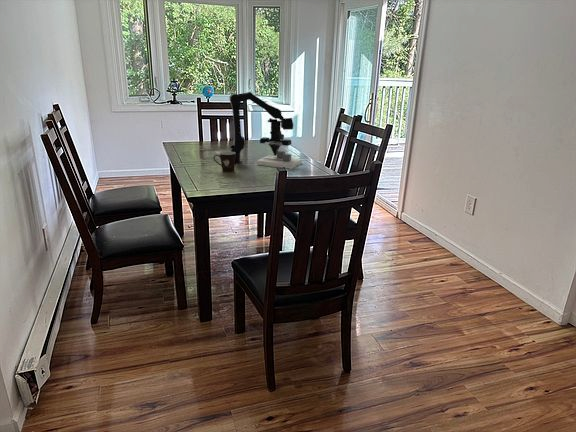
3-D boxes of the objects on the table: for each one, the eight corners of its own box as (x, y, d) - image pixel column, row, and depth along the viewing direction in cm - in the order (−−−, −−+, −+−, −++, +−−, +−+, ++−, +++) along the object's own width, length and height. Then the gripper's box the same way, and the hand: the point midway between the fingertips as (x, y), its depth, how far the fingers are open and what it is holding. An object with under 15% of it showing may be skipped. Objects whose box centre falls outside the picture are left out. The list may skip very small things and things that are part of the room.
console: (291, 168, 246) (292, 164, 245) (257, 164, 254) (257, 160, 253) (301, 163, 260) (301, 158, 259) (268, 159, 268) (268, 155, 267)
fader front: (289, 161, 251) (289, 155, 250) (282, 160, 253) (282, 154, 252) (291, 160, 254) (291, 154, 253) (284, 159, 256) (284, 153, 254)
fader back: (282, 158, 259) (283, 152, 258) (276, 157, 260) (276, 151, 259) (284, 157, 262) (285, 151, 260) (278, 156, 263) (278, 150, 262)
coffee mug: (239, 170, 239) (238, 152, 236) (229, 173, 232) (229, 155, 229) (222, 167, 245) (222, 150, 241) (212, 170, 238) (212, 152, 234)
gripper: (295, 129, 261) (294, 154, 266) (267, 126, 267) (266, 151, 272) (288, 131, 251) (287, 158, 256) (259, 129, 257) (259, 155, 263)
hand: (275, 155), depth 262 cm, fingers closed
